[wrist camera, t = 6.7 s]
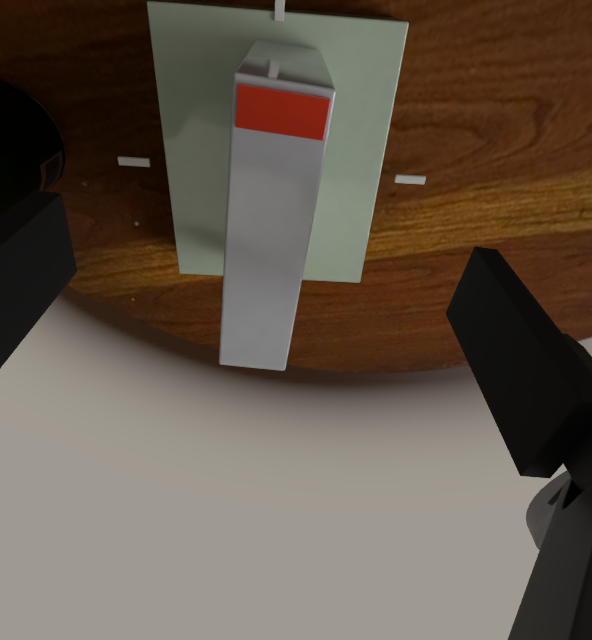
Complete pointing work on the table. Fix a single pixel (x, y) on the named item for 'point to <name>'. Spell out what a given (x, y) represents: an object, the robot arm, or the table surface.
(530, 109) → the table surface
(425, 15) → the table surface
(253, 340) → the red-tipped leaning gray slab
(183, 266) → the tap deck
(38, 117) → the beer can
